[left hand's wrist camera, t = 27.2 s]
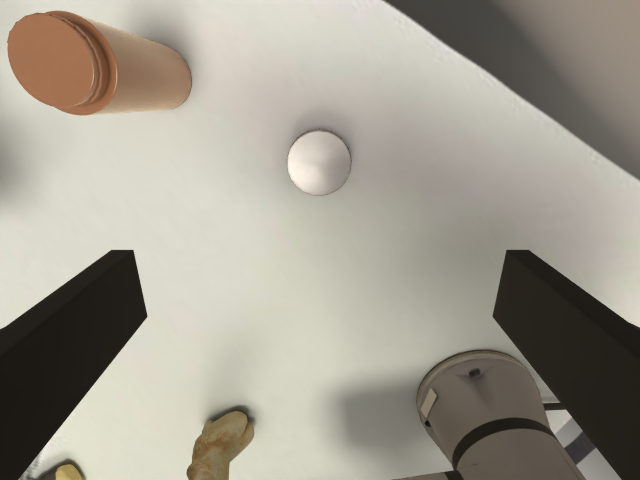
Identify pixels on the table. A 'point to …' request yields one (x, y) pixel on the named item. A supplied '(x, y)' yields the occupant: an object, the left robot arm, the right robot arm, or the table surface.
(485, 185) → the table surface
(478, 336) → the table surface
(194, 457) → the sculpture
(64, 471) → the toy gun
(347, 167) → the lid
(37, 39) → the jar
